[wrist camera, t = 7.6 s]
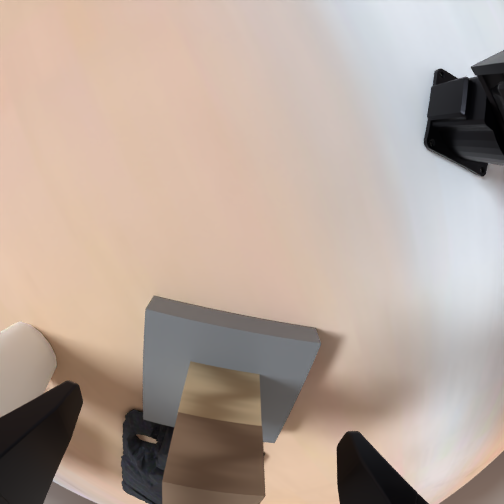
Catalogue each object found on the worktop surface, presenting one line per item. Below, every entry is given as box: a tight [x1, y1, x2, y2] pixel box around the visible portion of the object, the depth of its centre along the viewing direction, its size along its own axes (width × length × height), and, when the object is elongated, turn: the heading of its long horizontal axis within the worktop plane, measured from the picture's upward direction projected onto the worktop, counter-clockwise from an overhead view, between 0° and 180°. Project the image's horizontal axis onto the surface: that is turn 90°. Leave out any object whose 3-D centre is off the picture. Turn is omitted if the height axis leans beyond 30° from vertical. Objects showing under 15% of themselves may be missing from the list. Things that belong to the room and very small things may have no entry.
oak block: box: [177, 361, 262, 426], centre depth 18 cm, size 5×5×5 cm
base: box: [143, 296, 321, 443], centre depth 22 cm, size 12×12×2 cm
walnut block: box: [162, 412, 265, 504], centre depth 14 cm, size 5×5×5 cm
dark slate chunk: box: [121, 410, 265, 504], centre depth 26 cm, size 15×22×5 cm
